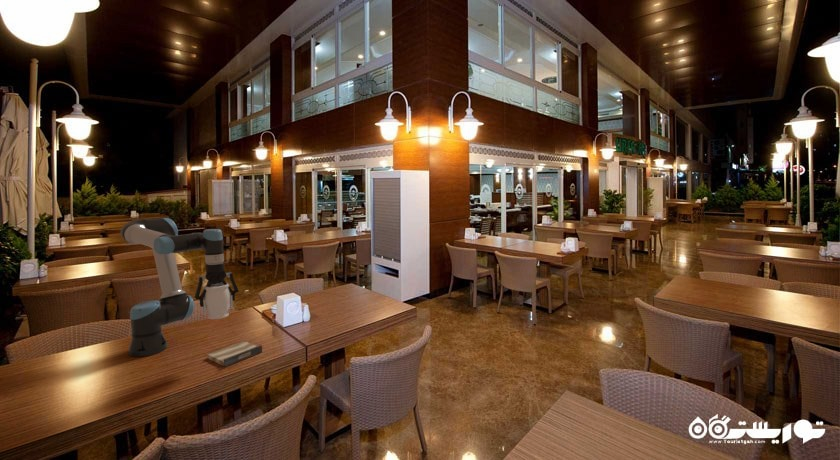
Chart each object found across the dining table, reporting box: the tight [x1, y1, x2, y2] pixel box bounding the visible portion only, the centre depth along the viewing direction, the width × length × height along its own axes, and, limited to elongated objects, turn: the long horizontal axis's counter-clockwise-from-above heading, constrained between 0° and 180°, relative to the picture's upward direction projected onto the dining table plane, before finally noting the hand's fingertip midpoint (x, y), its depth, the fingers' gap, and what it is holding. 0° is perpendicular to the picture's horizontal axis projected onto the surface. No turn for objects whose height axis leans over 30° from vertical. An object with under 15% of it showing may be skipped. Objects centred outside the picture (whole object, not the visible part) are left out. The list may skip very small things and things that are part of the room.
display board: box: [206, 340, 263, 368], centre depth 175 cm, size 15×18×3 cm
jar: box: [203, 282, 231, 320], centre depth 170 cm, size 11×10×15 cm
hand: (218, 310), depth 170 cm, fingers closed on jar, 10 cm apart
